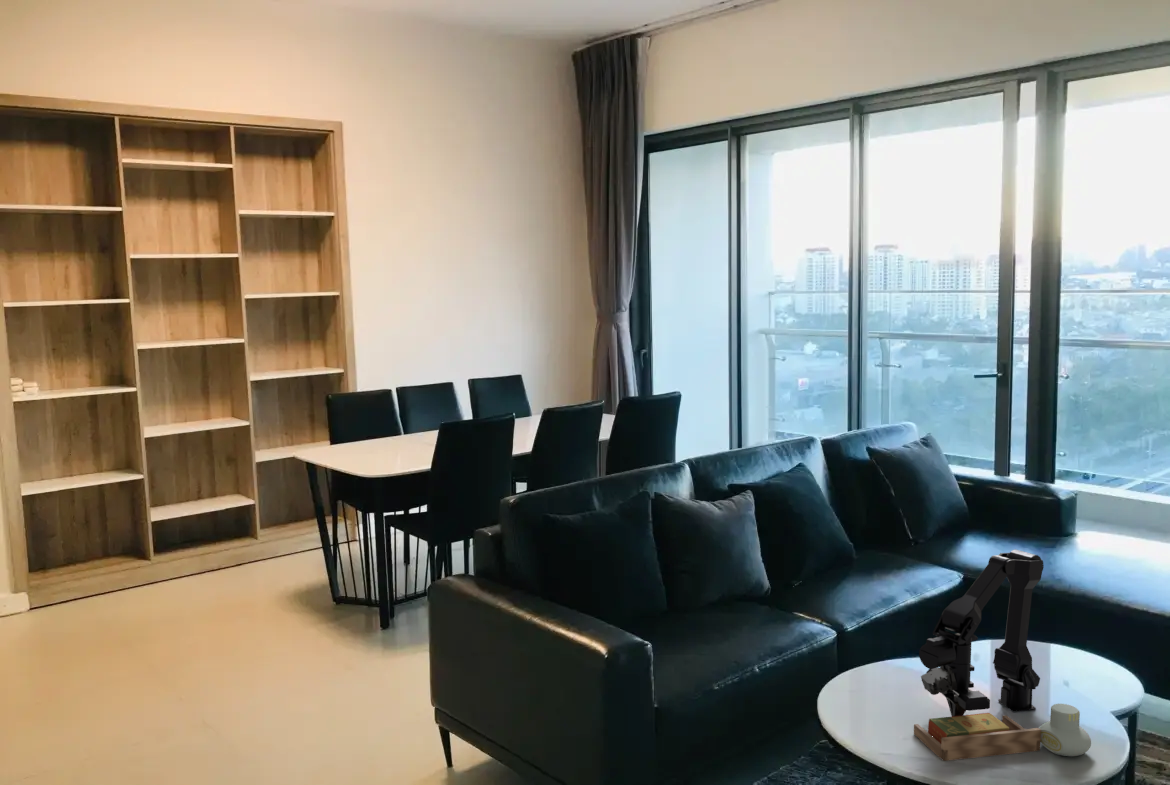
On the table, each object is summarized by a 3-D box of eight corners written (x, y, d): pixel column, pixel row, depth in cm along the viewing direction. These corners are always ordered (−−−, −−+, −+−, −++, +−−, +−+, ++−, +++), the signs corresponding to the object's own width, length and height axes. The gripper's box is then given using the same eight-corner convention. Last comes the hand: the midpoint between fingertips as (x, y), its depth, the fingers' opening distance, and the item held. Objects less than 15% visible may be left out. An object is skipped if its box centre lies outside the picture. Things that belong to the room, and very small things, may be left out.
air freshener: (1097, 758, 214) (1099, 715, 213) (1069, 765, 211) (1071, 721, 210) (1057, 736, 224) (1059, 696, 223) (1030, 743, 221) (1032, 702, 220)
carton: (1009, 744, 221) (1010, 727, 221) (946, 751, 219) (946, 733, 218) (988, 728, 230) (989, 711, 229) (927, 734, 227) (927, 717, 226)
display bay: (1005, 725, 230) (1006, 705, 230) (1040, 750, 217) (1041, 729, 217) (913, 734, 226) (914, 714, 226) (943, 760, 213) (943, 739, 213)
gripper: (907, 647, 236) (905, 708, 238) (947, 678, 218) (945, 743, 219) (948, 644, 238) (946, 704, 239) (992, 674, 219) (990, 738, 221)
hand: (955, 722), depth 230 cm, fingers closed
